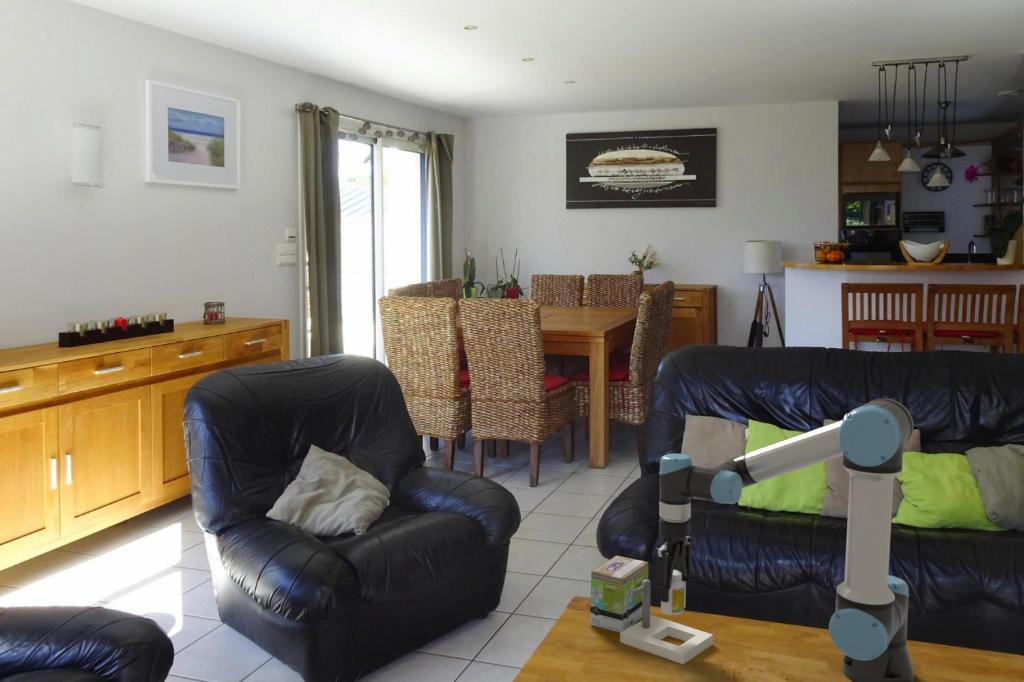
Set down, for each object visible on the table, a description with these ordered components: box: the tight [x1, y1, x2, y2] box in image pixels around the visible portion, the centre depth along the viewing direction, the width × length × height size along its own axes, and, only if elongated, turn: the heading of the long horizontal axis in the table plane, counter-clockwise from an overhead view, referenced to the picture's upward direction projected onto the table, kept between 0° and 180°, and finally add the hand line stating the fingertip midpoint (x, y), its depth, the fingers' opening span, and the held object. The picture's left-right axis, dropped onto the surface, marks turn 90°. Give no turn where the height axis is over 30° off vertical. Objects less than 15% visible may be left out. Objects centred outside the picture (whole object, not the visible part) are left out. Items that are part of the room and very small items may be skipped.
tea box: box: [589, 555, 649, 633], centre depth 233 cm, size 15×10×15 cm, turn 147°
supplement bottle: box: [670, 569, 685, 616], centre depth 216 cm, size 5×5×10 cm
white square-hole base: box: [619, 579, 714, 665], centre depth 218 cm, size 18×14×14 cm
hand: (673, 609), depth 217 cm, fingers closed on supplement bottle, 5 cm apart
